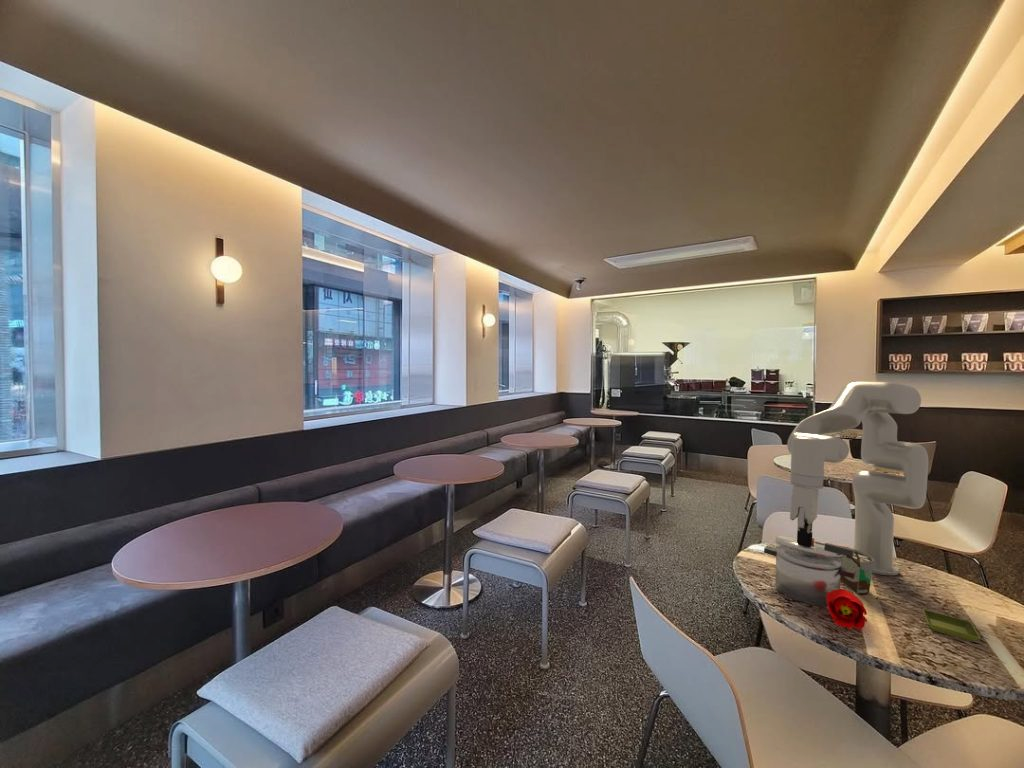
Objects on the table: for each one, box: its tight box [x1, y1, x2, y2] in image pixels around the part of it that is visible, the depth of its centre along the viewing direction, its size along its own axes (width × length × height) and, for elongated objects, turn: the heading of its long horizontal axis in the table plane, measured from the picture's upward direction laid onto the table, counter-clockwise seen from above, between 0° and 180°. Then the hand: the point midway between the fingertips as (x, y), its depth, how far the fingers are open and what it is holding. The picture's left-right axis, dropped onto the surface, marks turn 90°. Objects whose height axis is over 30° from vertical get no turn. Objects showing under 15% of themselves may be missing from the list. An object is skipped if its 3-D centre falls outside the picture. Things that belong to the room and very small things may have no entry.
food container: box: [839, 546, 876, 596], centre depth 119 cm, size 12×6×10 cm, turn 168°
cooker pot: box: [763, 544, 856, 608], centre depth 116 cm, size 15×21×11 cm
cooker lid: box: [775, 535, 854, 558], centre depth 115 cm, size 16×18×3 cm
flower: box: [826, 588, 868, 630], centre depth 102 cm, size 8×8×8 cm
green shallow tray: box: [921, 609, 981, 642], centre depth 99 cm, size 9×9×2 cm
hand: (804, 545), depth 113 cm, fingers closed
